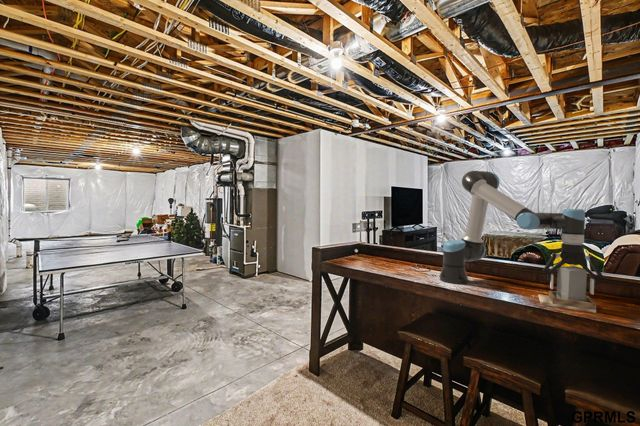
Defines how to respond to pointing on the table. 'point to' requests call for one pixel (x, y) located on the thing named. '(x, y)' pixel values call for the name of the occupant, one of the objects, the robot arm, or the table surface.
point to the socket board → (567, 302)
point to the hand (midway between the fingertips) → (571, 291)
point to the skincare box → (571, 283)
